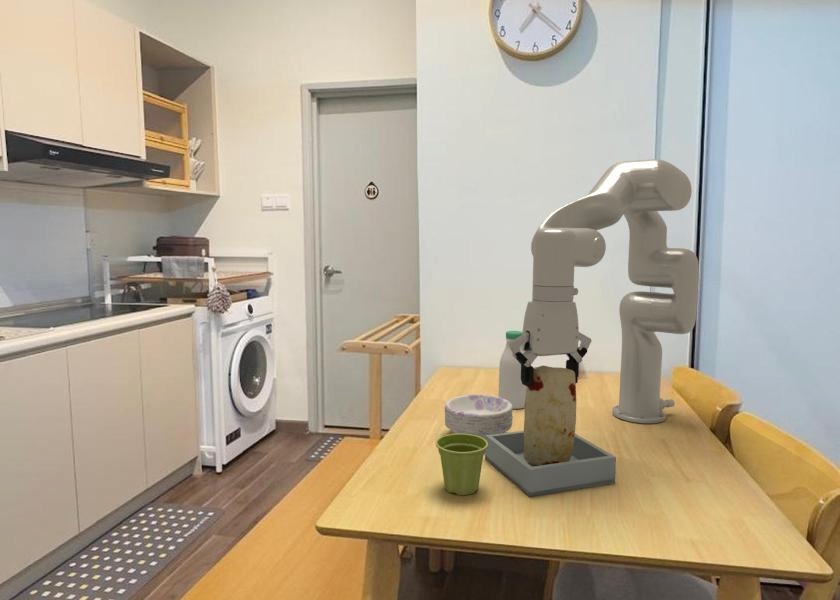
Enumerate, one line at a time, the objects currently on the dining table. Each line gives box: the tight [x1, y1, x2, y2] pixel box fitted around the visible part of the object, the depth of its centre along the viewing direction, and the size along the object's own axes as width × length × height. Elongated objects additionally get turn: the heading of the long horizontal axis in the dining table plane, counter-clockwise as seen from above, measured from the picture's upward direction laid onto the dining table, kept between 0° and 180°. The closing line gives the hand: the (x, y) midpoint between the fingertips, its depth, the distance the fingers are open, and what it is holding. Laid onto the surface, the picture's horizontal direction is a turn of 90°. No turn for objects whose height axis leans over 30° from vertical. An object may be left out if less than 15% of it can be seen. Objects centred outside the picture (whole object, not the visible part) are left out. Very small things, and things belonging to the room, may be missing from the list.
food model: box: [523, 365, 577, 466], centre depth 111 cm, size 10×7×20 cm
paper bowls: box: [444, 394, 514, 439], centre depth 130 cm, size 15×15×8 cm
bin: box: [484, 430, 617, 498], centre depth 112 cm, size 18×18×5 cm
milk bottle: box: [498, 330, 527, 410], centre depth 153 cm, size 8×8×20 cm
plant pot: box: [435, 433, 488, 496], centre depth 104 cm, size 9×9×9 cm
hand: (549, 383), depth 110 cm, fingers open, 9 cm apart
